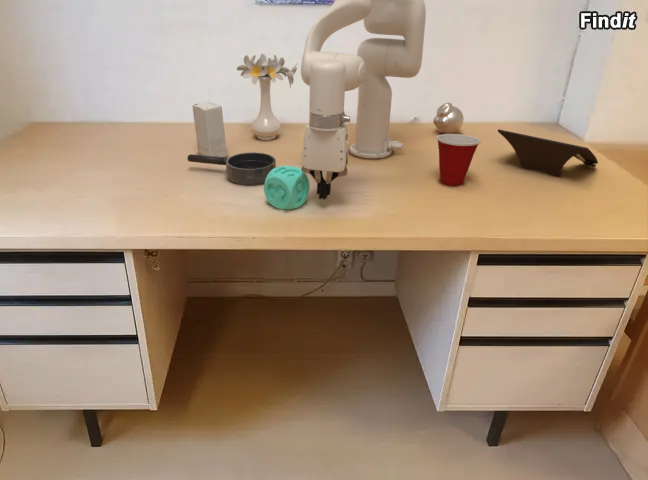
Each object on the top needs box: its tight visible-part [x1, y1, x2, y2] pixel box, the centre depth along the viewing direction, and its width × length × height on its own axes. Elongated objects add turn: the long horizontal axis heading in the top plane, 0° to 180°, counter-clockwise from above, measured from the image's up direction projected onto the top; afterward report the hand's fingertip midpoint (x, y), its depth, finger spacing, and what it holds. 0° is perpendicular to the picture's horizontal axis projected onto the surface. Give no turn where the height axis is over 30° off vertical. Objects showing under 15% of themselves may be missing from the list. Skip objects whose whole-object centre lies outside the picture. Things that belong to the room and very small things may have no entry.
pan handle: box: [186, 154, 228, 166], centre depth 150 cm, size 12×2×2 cm, turn 74°
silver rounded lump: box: [432, 102, 464, 135], centre depth 177 cm, size 9×10×10 cm
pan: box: [225, 151, 277, 186], centre depth 148 cm, size 13×13×4 cm
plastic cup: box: [435, 133, 482, 187], centre depth 142 cm, size 11×11×12 cm
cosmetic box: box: [191, 100, 228, 158], centre depth 160 cm, size 8×6×15 cm
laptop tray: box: [497, 128, 599, 177], centre depth 151 cm, size 23×23×9 cm
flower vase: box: [236, 53, 298, 141], centre depth 172 cm, size 13×18×25 cm
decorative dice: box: [263, 165, 311, 210], centre depth 132 cm, size 8×8×8 cm
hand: (323, 197), depth 131 cm, fingers closed
